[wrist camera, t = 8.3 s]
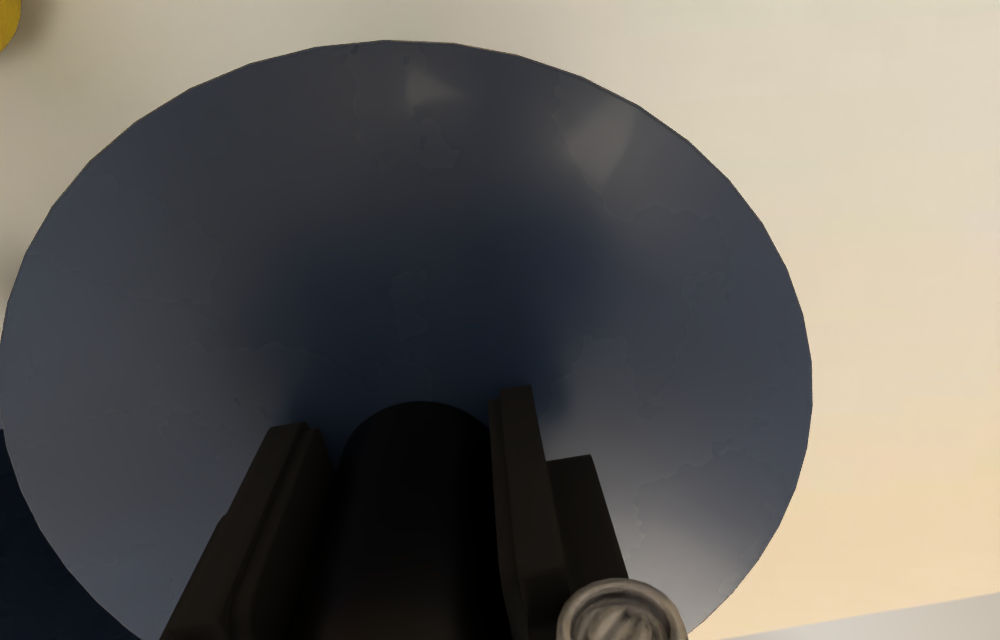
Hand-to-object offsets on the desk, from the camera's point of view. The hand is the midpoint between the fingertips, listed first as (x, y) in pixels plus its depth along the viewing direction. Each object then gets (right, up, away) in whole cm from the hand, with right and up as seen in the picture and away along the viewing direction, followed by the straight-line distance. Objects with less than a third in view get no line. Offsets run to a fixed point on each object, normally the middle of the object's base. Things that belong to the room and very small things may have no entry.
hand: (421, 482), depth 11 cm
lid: (0, 0, +1) cm, 1 cm away
